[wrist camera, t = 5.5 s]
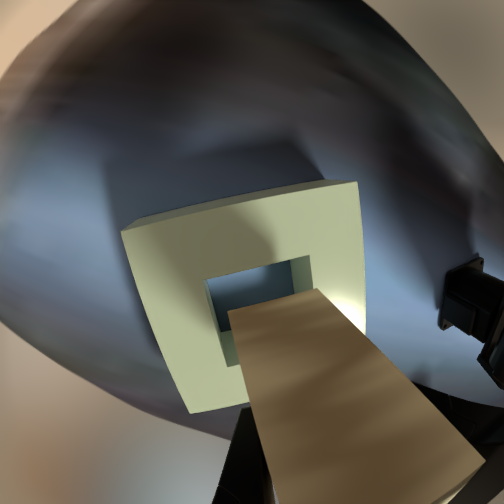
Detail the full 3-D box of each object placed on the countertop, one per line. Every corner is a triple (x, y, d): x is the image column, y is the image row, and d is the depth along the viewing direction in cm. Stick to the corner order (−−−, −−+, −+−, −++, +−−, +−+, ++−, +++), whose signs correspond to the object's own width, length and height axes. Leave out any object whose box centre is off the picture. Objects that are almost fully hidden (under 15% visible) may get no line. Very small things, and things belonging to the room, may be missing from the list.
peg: (317, 287, 12) (485, 460, 3) (322, 357, 13) (432, 517, 4) (227, 311, 12) (299, 561, 2) (245, 380, 13) (306, 573, 3)
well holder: (325, 179, 18) (357, 181, 14) (339, 335, 21) (364, 363, 17) (137, 219, 16) (120, 231, 12) (189, 376, 20) (189, 413, 16)
